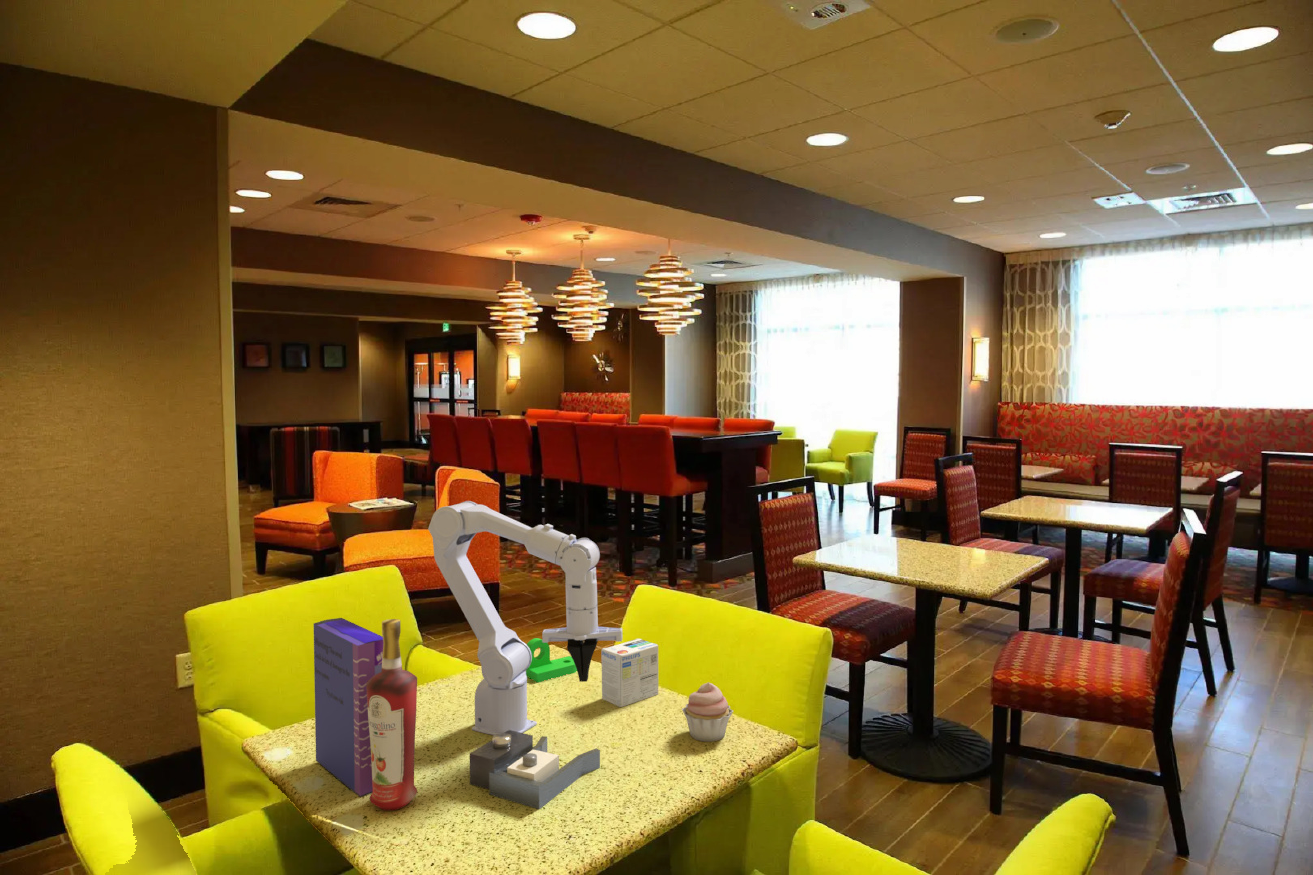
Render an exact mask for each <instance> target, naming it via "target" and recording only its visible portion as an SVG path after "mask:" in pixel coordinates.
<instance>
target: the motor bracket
mask: <svg viewBox="0 0 1313 875" xmlns="http://www.w3.org/2000/svg"><path fill="white" fill-rule="evenodd" d="M533 736H534V735H532V734H528V733H525V732H523V733H520V732H516V731H512V730H508V731H506V732H505V733H500V734H496V735H492V739H491V740H490V741H488V742H486V743H484V744H483V745H481V746H479V747H478V748H476V749H474V750H472V751H471V752H469V785H472V786H476V787H479V788H482V789H486V790H489V794H488V795H490V796H493V797H497V798H499V799H503V800H505V801H510V802H514V803H517V804H520V805H523V806H527V807H530V808H534V809H537V810H540V809H542V808H543V807H544V806H545V805H547V804H548V803H550V802H551V801H552V800H553V799H554V798H556V797H557V796H558V795H559V794H560V793H562V792H564V790H566V789H567V788H568V787H570V786H571V785H572V784H573V783H575V782H576V781H577V780H578V779H579V778H581V777H583V776H584V775H586V774H589V773H591V772H593V771H596V770H598V769H600V768H601V755H600V754H601V751H600V749H599V748H593V749H591V750H589V751H586V752H583V753H580V754H579V755H578V754H577V756H575V757H574V758H573V759H572V760H570V761H568V762H567V763H566V764H565V765H563V766H561V767H559V770H558V771H556V772H555V773H554V774H552V775H551V776H549V777H548V778H547V779H545V780H544V781H543V782H539V781H535V780H531V779H528V778H524V777H520V776H517V775H513V774H510V773H507V767H509V766H510V765H512V764H513V763H515V762H516V761H517V760H519V759H520V758H522V757H523V756H524V755H525V754H527V753H529V752H530V751H532V750H538V751H542V752H547V753H548V736H546V735H545V736H541V737H540V738H539V740H538V742H537V743H536V744H535V745H534V746H533V744H534V742H533V740H534V739H533Z"/></svg>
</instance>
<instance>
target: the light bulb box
mask: <svg viewBox="0 0 1313 875" xmlns="http://www.w3.org/2000/svg"><path fill="white" fill-rule="evenodd" d="M600 654H601V699H602V700H603V701H606V702H607V703H610V704H612V705H614V706H617V707H619V708H623V707H626V706H628V705H631V704H635V703H637V702H640V701H642V700H646V699H649V698H652V697H655V696H656V695H659V645H658V644H657V643H655V642H654V643H653V642H650V641H647V640H644V639H642V638H635V639H632V640H629V641H626V642H622V643H620V644H615V645H612V646H609V647H603V648H601V653H600Z"/></svg>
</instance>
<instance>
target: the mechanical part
mask: <svg viewBox="0 0 1313 875" xmlns="http://www.w3.org/2000/svg"><path fill="white" fill-rule="evenodd" d="M526 645H527V646H528V647H529V648H530V650H531V654H532V661H531V664H530V666H529V667H528V668H527V669H526V676H527V678H528V677H529V678H528V679H530V678H531V679H530V680H532V679H533V680H532V681H534V682H535V681H536V682H535V683H543V682H545V681H544V680H546V681H549V680H548V679H550V680H552V679H551V678H554V679H557V678H560V676H561V677H564V676H563V675H565V676H567V675H566V674H569V675H573V674H575V673H577V672H576V671H577V669H576V666H575V663H574V661H573V659H572V657H571V655H567V656H564V657H559V658H555V659H551V650H550V645H549V642H548V643H543V640H542V638H537V637H535V638H532V639H530V640H529V641H528V642H527V643H526ZM537 649H539V654H538V655H537V656H535V651H536V650H537ZM556 677H557V678H556Z"/></svg>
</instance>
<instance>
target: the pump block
mask: <svg viewBox="0 0 1313 875" xmlns="http://www.w3.org/2000/svg"><path fill="white" fill-rule="evenodd" d="M559 769H560V755H559V754H555V753H551V752H548V751H547V752H542V751H538V750H532V751H530V752H529V753H527V754H525V755H524V756H523V757H522V758H520V759H519V760H517V761H516V762H515V763H513V764H512V765H510V766H509V767H507V773H510V774H513V775H517V776H520V777H524V778H528V779H531V780H535V781H539V782H543V781H544V780H545V779H547V778H548V777H549V776H551V775H552V774H554V773H555V772H556V771H558V770H559Z"/></svg>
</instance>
